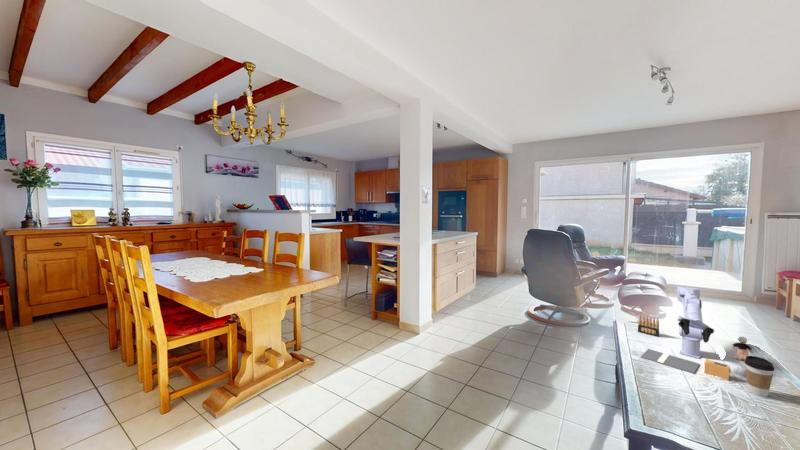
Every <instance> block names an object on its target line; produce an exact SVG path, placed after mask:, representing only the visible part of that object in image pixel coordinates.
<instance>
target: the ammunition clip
mask: <svg viewBox="0 0 800 450" xmlns="http://www.w3.org/2000/svg"><path fill="white" fill-rule="evenodd" d="M637 323H638V325H637V332H638V333H640V334H645V335H649V336H653V337H657V338H659V337H660V321H659V318H658V317H657V318H656V319H655V317H653V318H652V316H650V317H649V316H648V315H646V317H645V315H644V314H643V315H642V314H639V316H638V322H637Z"/></svg>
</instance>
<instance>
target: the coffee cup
mask: <svg viewBox="0 0 800 450" xmlns="http://www.w3.org/2000/svg"><path fill="white" fill-rule="evenodd" d="M743 362H744V364H745V368H744V369H745V377H746V378H745V379H746V386H747V387H746V388H747V391H748V393H750V394H753V395H755V396H758V397H762V398H768V397H769V395H770V390H771V384H772V380H773V376H774V375H773V371H775V367H774V365H773V363H772V362H771V361H769V360H767V359H765V358H763V357H761V356H755V355H748V356H746V360H745V361H743Z"/></svg>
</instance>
